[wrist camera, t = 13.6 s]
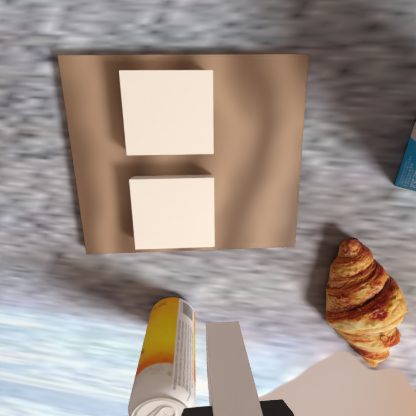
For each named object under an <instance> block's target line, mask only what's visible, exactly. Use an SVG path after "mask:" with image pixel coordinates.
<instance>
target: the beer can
mask: <svg viewBox="0 0 416 416" xmlns="http://www.w3.org/2000/svg"><path fill="white" fill-rule="evenodd" d="M192 407H196V398H195V312H194V310H193V308H192V306H191V305H190V304H189V303H188V302H187V301H185V300H183V299H180V298H176V297H169V298H165V299H162V300H160V301H159V302H157V303H156V304H155V305H154V307H153V308H152V310H151V313H150V318H149V322H148V326H147V330H146V334H145V338H144V343H143V347H142V351H141V355H140V359H139V363H138V368H137V372H136V376H135V380H134V384H133V388H132V393H131V397H130V401H129V405H128V413H129V416H181V414H182V412H183V409H184V408H192Z"/></svg>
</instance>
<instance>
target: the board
mask: <svg viewBox="0 0 416 416" xmlns="http://www.w3.org/2000/svg"><path fill="white" fill-rule="evenodd" d="M308 60H309V54H237V55H58V62H59V69H60V76H61V82H62V89H63V96H64V103H65V110H66V117H67V124H68V131H69V137H70V144H71V151H72V158H73V165H74V172H75V179H76V186H77V192H78V199H79V206H80V213H81V220H82V227H83V234H84V241H85V247H86V254H108V253H136V252H164V251H192V250H220V249H248V248H276V247H295V237H296V224H297V210H298V196H299V183H300V169H301V155H302V142H303V128H304V114H305V101H306V87H307V73H308ZM119 70H213V129H214V154H185V155H127V154H126V143H125V131H124V120H123V109H122V98H121V87H120V76H119ZM211 174H213V176H214V226H215V247H198V248H167V249H137V250H135V239H134V228H133V217H132V206H131V195H130V184H129V179H131V178H132V177H133V176H163V175H211Z"/></svg>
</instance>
